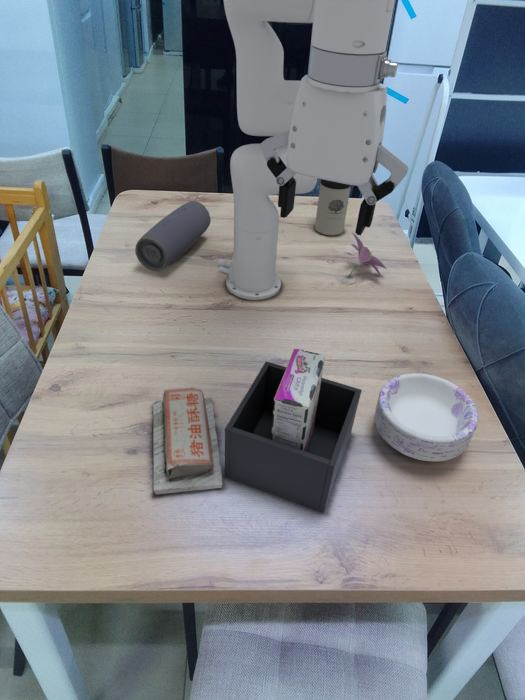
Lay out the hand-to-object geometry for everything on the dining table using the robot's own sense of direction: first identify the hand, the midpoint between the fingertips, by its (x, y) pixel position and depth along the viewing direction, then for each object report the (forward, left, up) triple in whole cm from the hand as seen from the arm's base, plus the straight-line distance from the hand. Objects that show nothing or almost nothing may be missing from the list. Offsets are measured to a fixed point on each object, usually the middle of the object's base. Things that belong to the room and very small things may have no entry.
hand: (323, 221), depth 63 cm
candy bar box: (+2, -8, -35) cm, 36 cm away
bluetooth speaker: (-45, +40, -36) cm, 70 cm away
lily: (0, +52, -36) cm, 63 cm away
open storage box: (+2, -8, -36) cm, 37 cm away
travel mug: (-14, +71, -36) cm, 81 cm away
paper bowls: (+20, +4, -36) cm, 41 cm away
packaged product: (-14, -13, -36) cm, 41 cm away
